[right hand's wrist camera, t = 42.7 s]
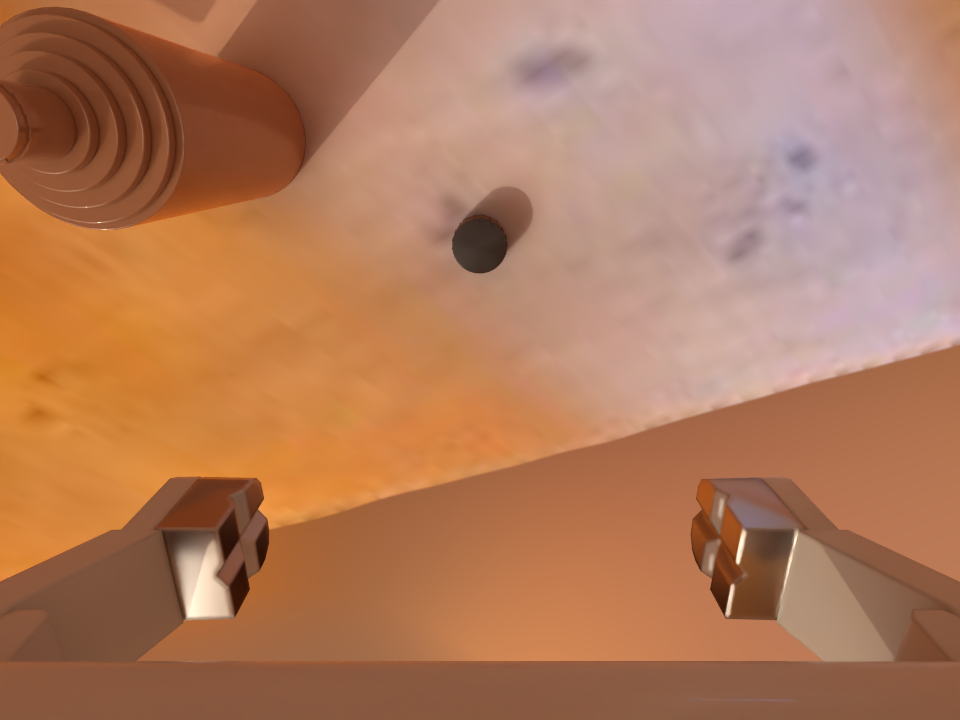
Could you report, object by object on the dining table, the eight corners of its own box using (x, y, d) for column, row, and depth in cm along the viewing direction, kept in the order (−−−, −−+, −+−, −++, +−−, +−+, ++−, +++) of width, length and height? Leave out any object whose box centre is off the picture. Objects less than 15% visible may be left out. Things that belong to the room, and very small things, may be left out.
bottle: (162, 86, 37) (-223, 9, 17) (279, 52, 37) (26, -70, 16) (212, 210, 40) (-66, 274, 20) (322, 181, 40) (152, 217, 19)
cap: (498, 273, 42) (499, 280, 40) (447, 261, 42) (445, 266, 40) (512, 222, 41) (514, 226, 39) (460, 208, 40) (458, 211, 38)
